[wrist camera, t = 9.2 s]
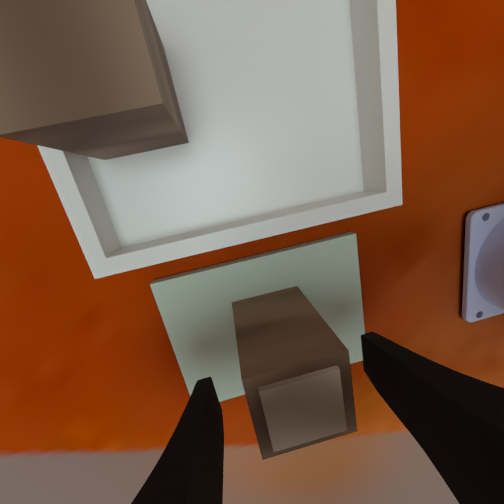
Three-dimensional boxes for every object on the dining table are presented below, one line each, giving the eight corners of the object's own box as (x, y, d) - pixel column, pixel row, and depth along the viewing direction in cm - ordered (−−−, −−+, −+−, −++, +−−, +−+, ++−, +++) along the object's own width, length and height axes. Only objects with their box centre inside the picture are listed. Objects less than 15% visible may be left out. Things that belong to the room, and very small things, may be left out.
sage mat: (350, 231, 15) (356, 233, 14) (362, 353, 17) (367, 359, 17) (152, 280, 14) (149, 284, 13) (195, 401, 17) (195, 408, 16)
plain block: (163, 45, 11) (101, -116, 5) (188, 142, 12) (162, 103, 6) (69, 61, 10) (-111, -89, 5) (104, 160, 12) (-5, 135, 6)
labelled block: (306, 341, 16) (359, 435, 10) (245, 358, 16) (263, 465, 10) (296, 285, 15) (351, 354, 9) (231, 302, 14) (242, 384, 8)
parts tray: (349, -122, 11) (388, -212, 8) (372, 201, 15) (402, 204, 12) (-17, -75, 9) (-96, -162, 7) (116, 262, 13) (94, 278, 11)
